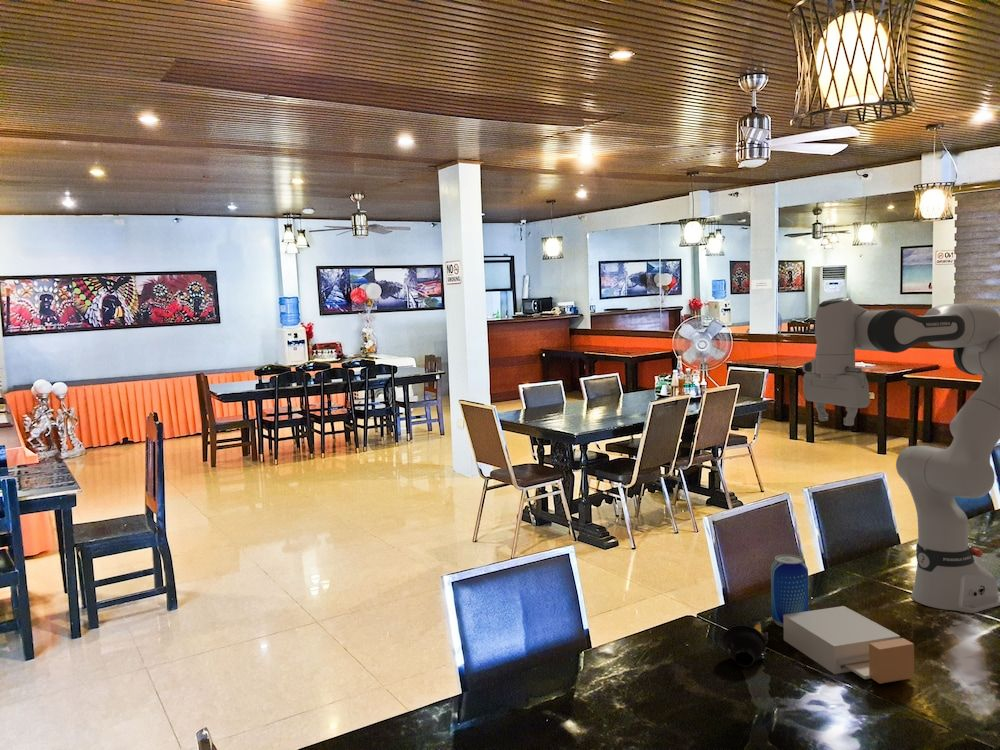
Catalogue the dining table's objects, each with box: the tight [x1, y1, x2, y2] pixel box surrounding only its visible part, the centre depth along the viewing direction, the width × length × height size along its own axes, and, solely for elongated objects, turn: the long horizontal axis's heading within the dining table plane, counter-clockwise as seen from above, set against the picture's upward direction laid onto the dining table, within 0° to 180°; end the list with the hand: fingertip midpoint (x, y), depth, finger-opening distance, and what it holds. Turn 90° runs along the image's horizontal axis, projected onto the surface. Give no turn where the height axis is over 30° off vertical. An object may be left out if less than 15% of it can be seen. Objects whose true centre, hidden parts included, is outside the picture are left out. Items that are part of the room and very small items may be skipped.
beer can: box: [770, 554, 810, 629], centre depth 188 cm, size 8×8×16 cm
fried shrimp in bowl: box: [722, 621, 769, 668], centre depth 173 cm, size 9×11×18 cm
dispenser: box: [783, 605, 901, 675], centre depth 171 cm, size 16×19×6 cm
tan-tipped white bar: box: [843, 637, 915, 685], centre depth 166 cm, size 11×22×7 cm, turn 13°
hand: (835, 422), depth 188 cm, fingers open, 8 cm apart
